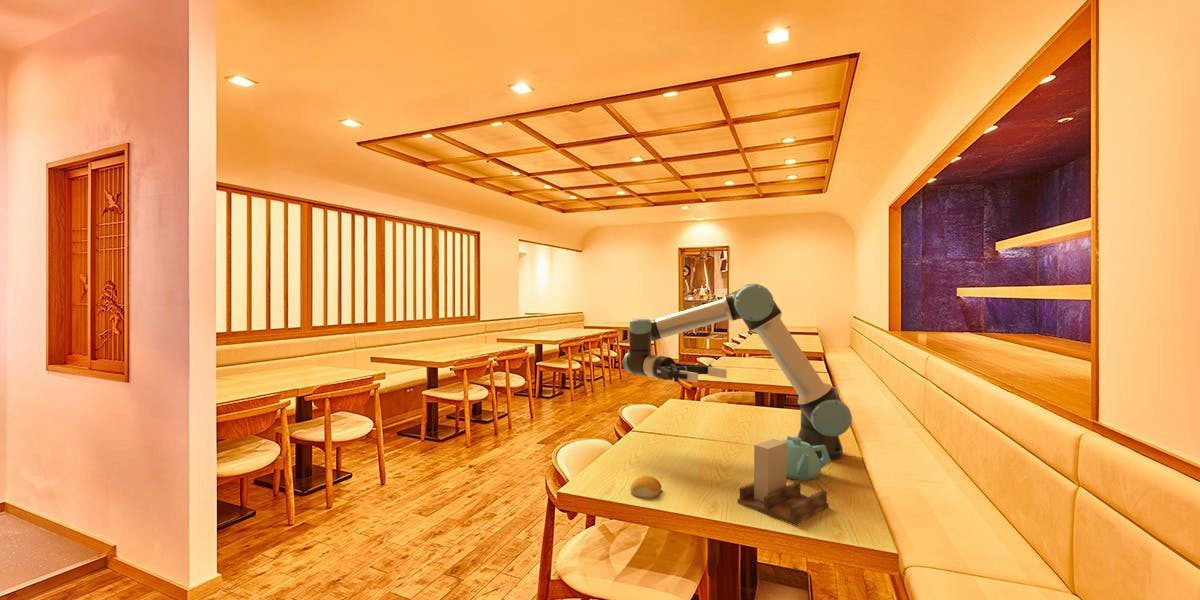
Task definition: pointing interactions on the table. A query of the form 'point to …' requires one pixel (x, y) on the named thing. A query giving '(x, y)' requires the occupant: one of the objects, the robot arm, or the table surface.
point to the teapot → (804, 459)
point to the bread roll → (645, 487)
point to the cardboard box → (769, 467)
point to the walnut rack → (786, 503)
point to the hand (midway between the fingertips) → (712, 375)
